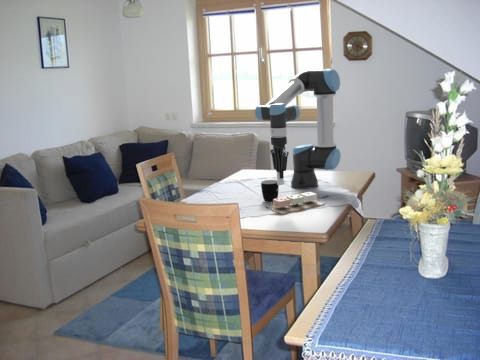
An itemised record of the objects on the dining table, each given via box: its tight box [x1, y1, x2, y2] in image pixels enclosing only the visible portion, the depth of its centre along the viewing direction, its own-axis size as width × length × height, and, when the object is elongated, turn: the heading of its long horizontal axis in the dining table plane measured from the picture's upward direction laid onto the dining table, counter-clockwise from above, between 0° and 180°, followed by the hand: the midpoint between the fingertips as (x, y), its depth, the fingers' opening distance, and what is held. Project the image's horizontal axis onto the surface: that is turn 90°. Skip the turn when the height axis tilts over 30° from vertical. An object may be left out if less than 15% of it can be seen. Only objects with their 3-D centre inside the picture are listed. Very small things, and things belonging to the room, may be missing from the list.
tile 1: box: [299, 191, 318, 202], centre depth 281 cm, size 6×6×3 cm
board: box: [267, 200, 325, 215], centre depth 279 cm, size 25×14×1 cm, turn 118°
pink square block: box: [272, 196, 290, 208], centre depth 274 cm, size 6×6×3 cm
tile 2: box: [286, 194, 304, 205], centre depth 278 cm, size 6×6×3 cm
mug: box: [260, 179, 280, 203], centre depth 292 cm, size 12×9×10 cm
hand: (280, 184), depth 272 cm, fingers closed
